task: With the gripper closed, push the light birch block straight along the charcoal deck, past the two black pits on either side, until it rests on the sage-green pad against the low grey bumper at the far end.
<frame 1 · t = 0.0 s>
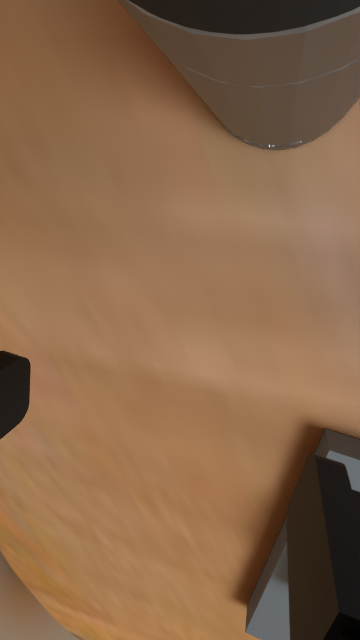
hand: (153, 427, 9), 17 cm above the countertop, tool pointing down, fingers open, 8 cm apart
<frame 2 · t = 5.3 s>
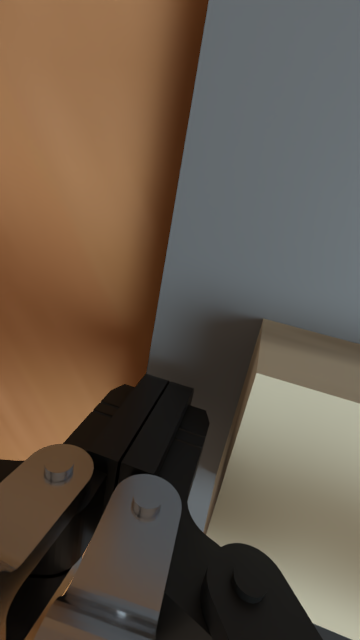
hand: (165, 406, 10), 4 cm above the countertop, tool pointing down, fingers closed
birch block: (334, 435, 10), point 3 cm above the countertop, touching gripper
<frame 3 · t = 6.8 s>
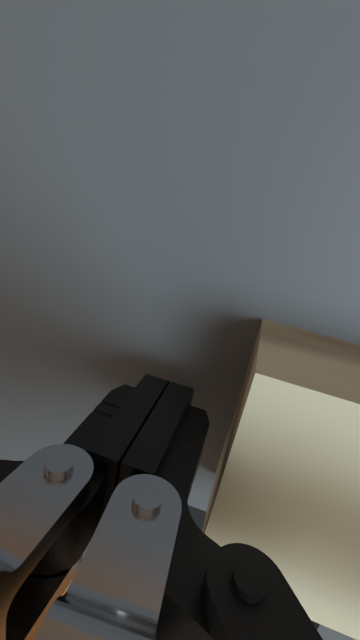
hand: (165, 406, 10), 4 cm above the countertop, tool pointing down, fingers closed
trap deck: (330, 390, 13), on the countertop
birch block: (332, 434, 10), point 2 cm above the countertop, touching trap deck
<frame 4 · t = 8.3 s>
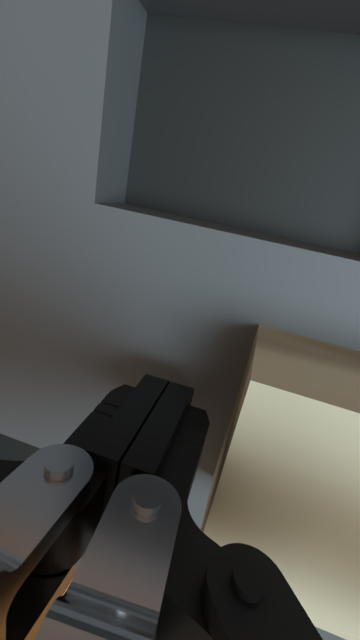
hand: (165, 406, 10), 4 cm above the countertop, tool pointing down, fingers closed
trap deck: (134, 334, 14), on the countertop
birch block: (328, 438, 11), point 3 cm above the countertop, touching gripper, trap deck
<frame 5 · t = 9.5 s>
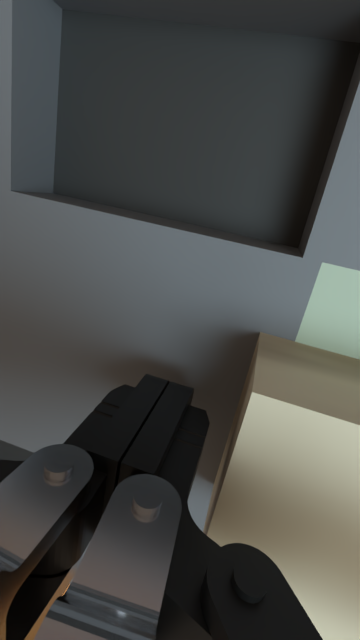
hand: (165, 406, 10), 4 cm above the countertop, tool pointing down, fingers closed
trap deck: (71, 321, 15), on the countertop
birch block: (330, 446, 10), point 2 cm above the countertop, touching gripper, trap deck
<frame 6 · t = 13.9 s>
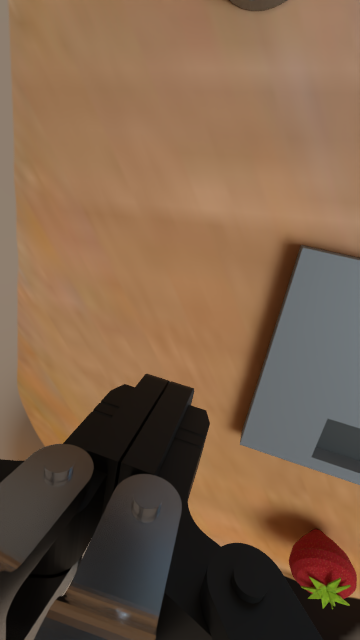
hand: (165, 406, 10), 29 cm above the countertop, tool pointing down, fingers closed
strawberry: (316, 528, 45), on the countertop
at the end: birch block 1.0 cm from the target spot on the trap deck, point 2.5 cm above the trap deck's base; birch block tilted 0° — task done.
